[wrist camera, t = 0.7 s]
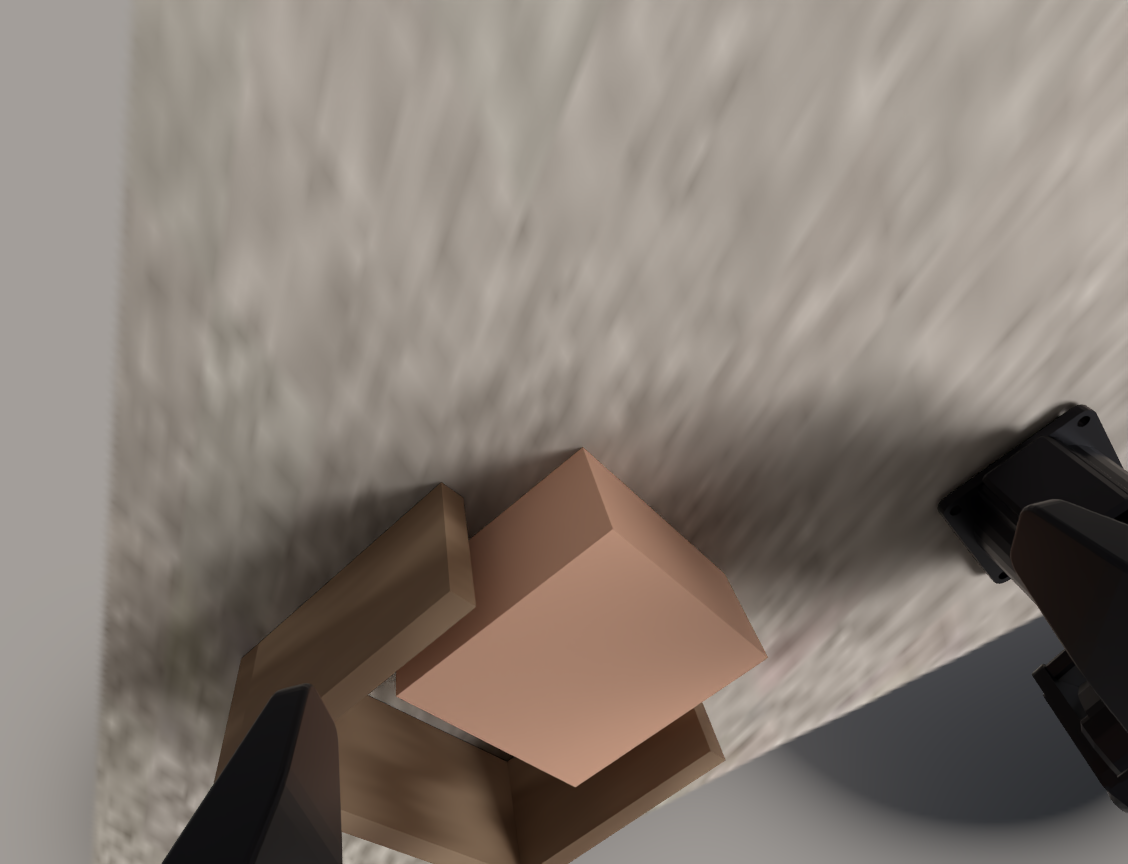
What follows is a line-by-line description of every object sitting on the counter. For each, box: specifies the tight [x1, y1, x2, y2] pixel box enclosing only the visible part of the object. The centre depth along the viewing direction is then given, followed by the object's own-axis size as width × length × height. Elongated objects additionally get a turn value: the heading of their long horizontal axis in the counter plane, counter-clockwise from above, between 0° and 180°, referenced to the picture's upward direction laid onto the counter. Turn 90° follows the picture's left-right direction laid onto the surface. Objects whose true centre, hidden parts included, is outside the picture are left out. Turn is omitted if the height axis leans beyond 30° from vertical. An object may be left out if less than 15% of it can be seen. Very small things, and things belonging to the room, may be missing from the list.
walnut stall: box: [214, 482, 725, 864], centre depth 27 cm, size 14×10×5 cm
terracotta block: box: [396, 447, 768, 787], centre depth 26 cm, size 9×9×4 cm
